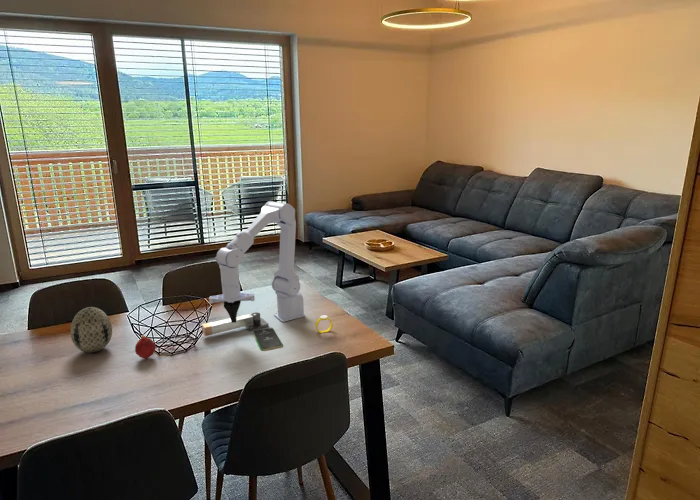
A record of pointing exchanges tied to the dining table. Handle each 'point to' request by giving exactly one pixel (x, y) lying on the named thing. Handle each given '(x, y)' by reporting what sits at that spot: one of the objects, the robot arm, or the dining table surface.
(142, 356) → the onion
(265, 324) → the pivot plate
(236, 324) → the swing bar
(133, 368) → the dining table surface
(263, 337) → the smartphone
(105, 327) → the decorative egg
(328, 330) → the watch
